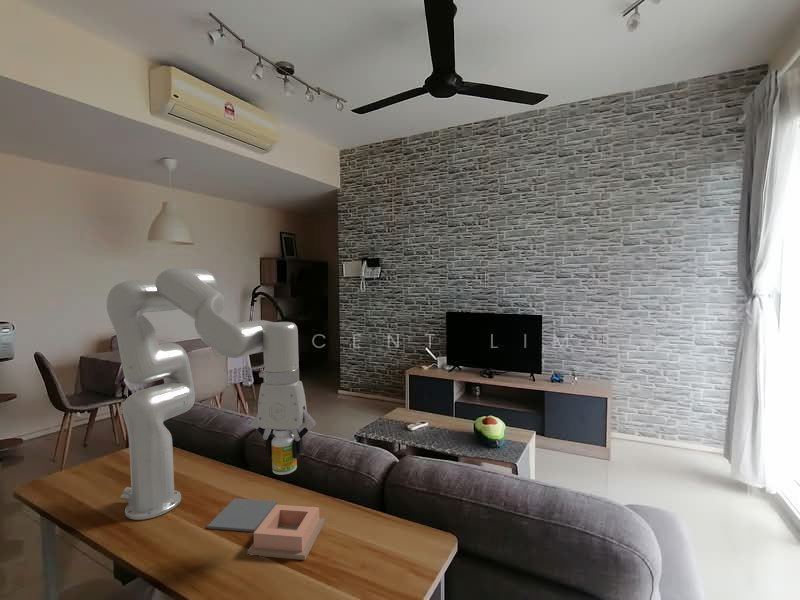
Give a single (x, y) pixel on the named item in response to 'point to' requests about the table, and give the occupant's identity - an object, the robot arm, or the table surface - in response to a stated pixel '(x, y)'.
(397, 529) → the table surface
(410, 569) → the table surface
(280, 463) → the supplement bottle
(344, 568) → the table surface
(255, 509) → the rubber mat
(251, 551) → the collar block
